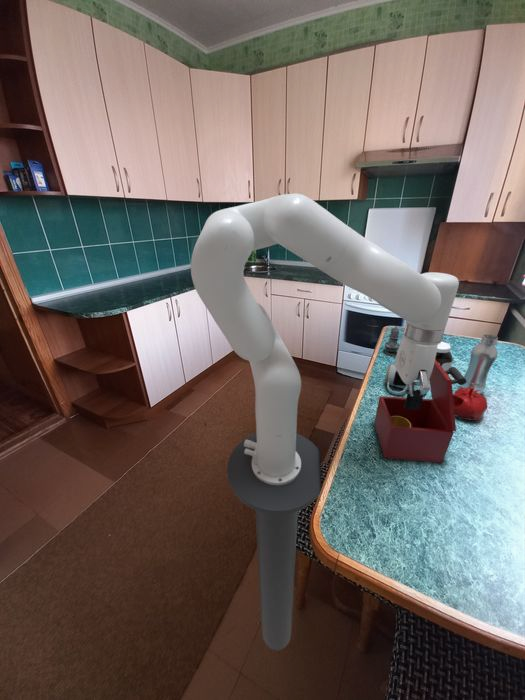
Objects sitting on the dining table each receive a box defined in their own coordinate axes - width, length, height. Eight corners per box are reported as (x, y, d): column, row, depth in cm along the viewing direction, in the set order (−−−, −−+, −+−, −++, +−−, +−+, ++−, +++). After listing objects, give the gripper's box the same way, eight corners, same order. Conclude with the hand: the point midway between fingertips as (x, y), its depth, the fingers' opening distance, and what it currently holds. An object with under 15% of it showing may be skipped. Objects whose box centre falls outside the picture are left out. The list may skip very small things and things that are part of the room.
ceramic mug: (386, 376, 105) (390, 358, 101) (411, 382, 101) (416, 363, 97) (381, 392, 97) (385, 373, 93) (408, 399, 93) (413, 379, 89)
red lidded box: (384, 457, 72) (391, 428, 68) (374, 423, 84) (379, 396, 79) (442, 463, 71) (453, 432, 66) (424, 427, 82) (432, 399, 77)
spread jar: (418, 376, 104) (425, 348, 99) (413, 361, 114) (420, 334, 109) (455, 381, 101) (465, 352, 96) (447, 365, 111) (456, 338, 106)
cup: (384, 443, 76) (388, 427, 73) (384, 429, 80) (388, 413, 78) (407, 448, 74) (411, 432, 71) (406, 434, 78) (410, 418, 76)
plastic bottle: (486, 398, 93) (509, 342, 83) (463, 396, 94) (483, 341, 84) (476, 386, 98) (497, 333, 89) (454, 385, 99) (473, 332, 90)
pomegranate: (480, 407, 89) (491, 382, 84) (485, 428, 81) (496, 401, 77) (443, 398, 93) (451, 374, 89) (444, 417, 85) (453, 391, 81)
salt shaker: (399, 356, 118) (405, 329, 112) (383, 355, 119) (388, 328, 114) (397, 350, 123) (403, 324, 117) (382, 348, 124) (387, 322, 119)
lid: (447, 380, 60) (474, 375, 59) (425, 352, 71) (448, 347, 70) (452, 431, 66) (477, 428, 65) (431, 398, 77) (452, 394, 76)
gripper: (394, 316, 71) (380, 376, 79) (418, 348, 55) (398, 418, 63) (426, 318, 70) (410, 378, 78) (460, 351, 55) (435, 421, 62)
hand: (404, 396), depth 71 cm, fingers open, 9 cm apart
